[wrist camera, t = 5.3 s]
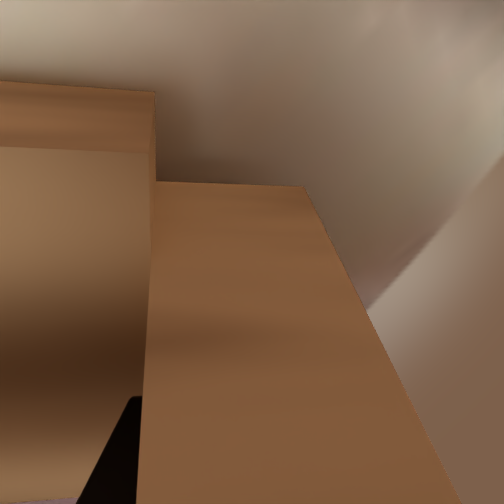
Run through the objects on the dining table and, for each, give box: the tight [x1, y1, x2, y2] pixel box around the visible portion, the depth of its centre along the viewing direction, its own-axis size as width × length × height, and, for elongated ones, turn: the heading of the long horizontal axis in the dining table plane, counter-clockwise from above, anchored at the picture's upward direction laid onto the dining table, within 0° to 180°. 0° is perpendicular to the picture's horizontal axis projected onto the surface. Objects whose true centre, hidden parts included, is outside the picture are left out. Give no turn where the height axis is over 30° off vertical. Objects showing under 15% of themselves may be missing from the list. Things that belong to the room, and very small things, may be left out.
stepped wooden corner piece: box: [0, 81, 462, 504], centre depth 8 cm, size 10×8×9 cm
